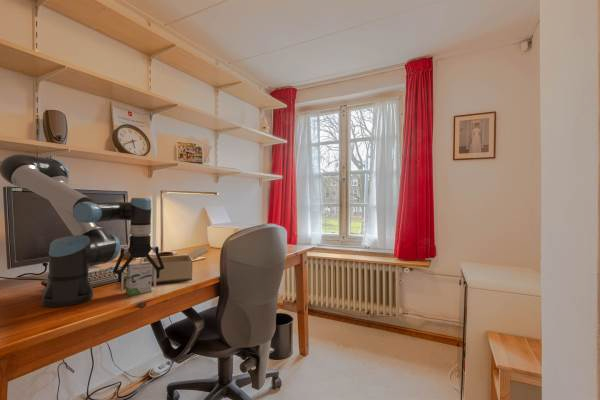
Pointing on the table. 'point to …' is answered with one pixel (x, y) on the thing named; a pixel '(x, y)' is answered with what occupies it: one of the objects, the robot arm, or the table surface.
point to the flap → (198, 252)
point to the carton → (172, 268)
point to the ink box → (138, 278)
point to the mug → (166, 254)
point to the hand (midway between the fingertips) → (139, 288)
